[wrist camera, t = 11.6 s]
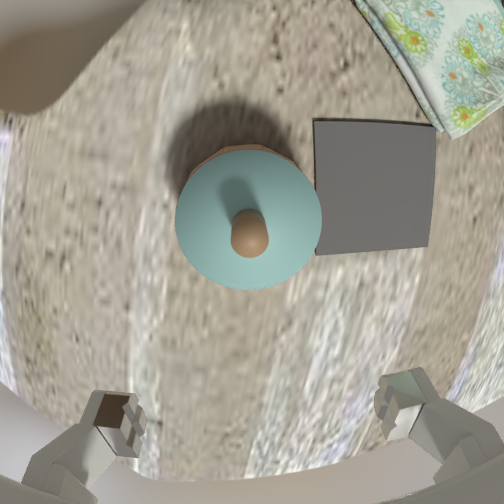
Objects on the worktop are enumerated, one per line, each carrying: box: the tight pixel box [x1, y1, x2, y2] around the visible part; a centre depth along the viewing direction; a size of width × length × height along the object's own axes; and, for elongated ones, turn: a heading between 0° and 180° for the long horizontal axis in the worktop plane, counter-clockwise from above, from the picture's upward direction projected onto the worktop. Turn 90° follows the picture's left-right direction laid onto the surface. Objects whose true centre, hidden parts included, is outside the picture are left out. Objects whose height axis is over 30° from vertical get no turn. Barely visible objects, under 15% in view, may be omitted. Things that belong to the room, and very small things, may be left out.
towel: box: [354, 0, 504, 140], centre depth 22 cm, size 18×21×5 cm
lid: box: [175, 149, 322, 290], centre depth 26 cm, size 12×12×4 cm
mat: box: [313, 121, 436, 256], centre depth 32 cm, size 14×14×1 cm
